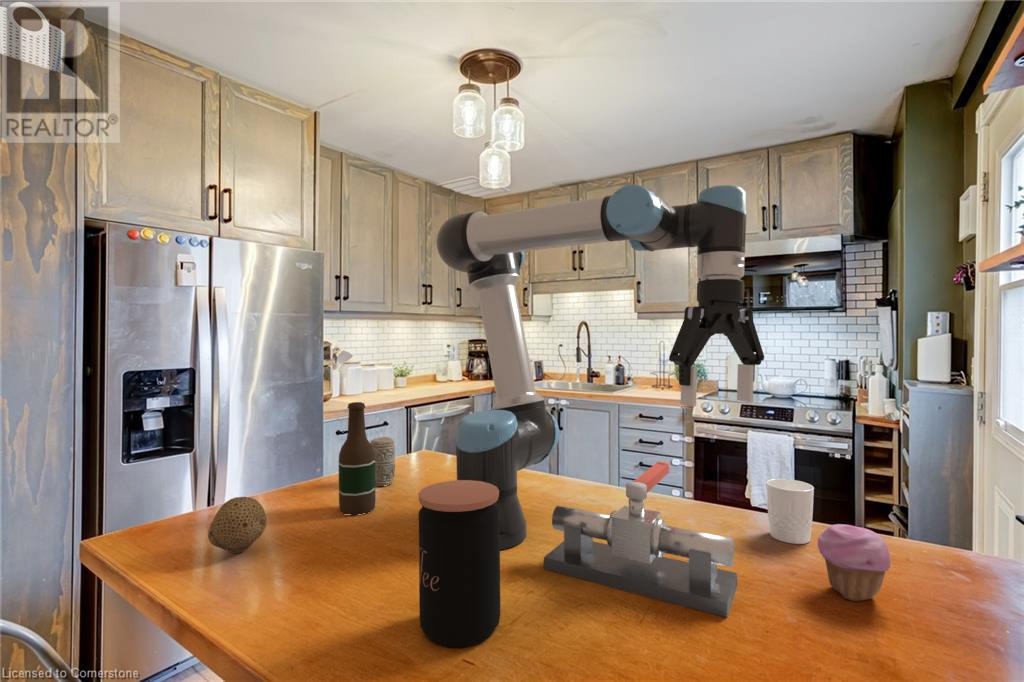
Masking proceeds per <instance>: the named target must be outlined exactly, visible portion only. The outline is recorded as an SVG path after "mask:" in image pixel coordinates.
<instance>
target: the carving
mask: <svg viewBox="0 0 1024 682" xmlns="http://www.w3.org/2000/svg"><path fill="white" fill-rule="evenodd" d="M370 444H371V445H372V447H373V450H374V454H375V487H378V486H384V485H388V484H390V485H392V484H393V481H394V477H395V470H396V462H395V460H396V456H395V455H396V445H395V441H394V439H393V437H387V436H382V437H380V436H379V437H377V438H373V439H372V440H370ZM388 486H389V485H388Z"/></svg>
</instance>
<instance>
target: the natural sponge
mask: <svg viewBox="0 0 1024 682" xmlns="http://www.w3.org/2000/svg"><path fill="white" fill-rule="evenodd" d="M267 520H268V519H267V515H266V510H265V509H264V507H263V506H262V503H260V502H259V501H258V500H256V499H255V498H253V497H249V496H236V497H233V498H230V499H229V500H227V501H226V502H224V504H222V505H221V507H220V508H219V509H218V510H217V512H216V514H215V515H214V518H213V520H212V521H211V524H210V525H209V528H208V531H207V538H208V542H209V543H210V544H211V545H212V546H214V547H216V548H219V549H222V550H224V551H226V552H228V553H232V554H241V553H243V552H245V551H247V550H248V549H249V548H250V547H251V546H252V545H253V544H254V543H255V542H256V541H257V540H258V539H259V538H260V537H261V536H262V535H263V533H264V531H265V529H266V527H267V523H268V522H267ZM240 552H241V553H240Z"/></svg>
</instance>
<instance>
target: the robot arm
mask: <svg viewBox="0 0 1024 682" xmlns="http://www.w3.org/2000/svg"><path fill="white" fill-rule="evenodd" d="M746 197H747V195H746V191H745V190H744V189H743V188H742V187H741V186H737V185H733V184H732V185H730V184H729V185H728V184H723V185H714V186H711V187H707V188H704V189H702V190H701V191H700V193H699V194H698V199H697V202H693V203H688V204H681V205H672V206H671V205H669V204H668V203H667V202H666V201H664V200H663V199H661V198H660V196H659V195H657V194H656V193H655V192H654V191H653V190H651V189H650V188H647V187H645V186H642V185H639V184H634V183H631V184H626V185H623V186H621V187H620V188H618V189H617V190H616V191H615V192H613V193H612V194H610V195H606V196H600V197H594V198H588V199H581V200H575V201H568V202H562V203H555V204H551V205H544V206H537V207H531V208H525V209H520V210H519V209H518V210H513V211H507V212H506V211H505V212H500V213H495V214H488V213H486V212H484V211H481V210H478V211H473V212H467V213H460V214H457V215H454V216H451V217H449V218H448V219H447V220H446V221H444V222H443V223H442V225H441V227H440V228H439V230H438V233H437V237H436V248H437V253H438V255H439V256H440V257H439V258H441V261H443V263H444V264H445V265H446V266H447V267H449V268H451V269H453V270H455V271H458V272H462V273H467V279H468V280H467V281H468V284H469V289H470V290H472V291H474V292H475V293H476V294H477V297H478V302H479V308H480V313H481V319H482V324H483V330H484V335H485V340H486V345H487V346H486V347H487V351H488V357H489V362H490V368H491V374H492V379H493V385H494V390H495V396H496V400H495V401H494V403H493V405H492V407H491V409H487V410H484V411H475V412H472V413H469V414H466V415H465V416H463V417H461V419H460V420H459V421H458V422H457V424H456V437H455V446H456V448H455V449H456V452H455V454H456V457H455V458H456V480H473V481H482V482H486V483H490V484H492V485H494V486H496V487H497V488H498V490H499V497H498V500H497V501H496V504H497V506H498V507H499V512H500V551H501V550H505V549H510V548H513V547H516V546H517V545H519V544H521V543H522V542H524V541H525V539H527V534H528V533H527V530H528V528H527V520H526V518H525V516H524V512H523V508H522V505H521V503H520V498H519V497H518V471H520V470H523V469H525V468H528V467H530V466H532V465H537V464H540V463H542V462H543V461H544V460H545V459H547V458H548V457H550V456H551V455H552V454H553V453H554V451H555V450H556V448H557V447H558V443H559V439H560V428H559V424H558V421H557V420H556V418H555V416H554V415H553V414H551V413H550V411H549V410H547V408H546V403H545V398H544V397H543V396H541V395H540V394H539V393H537V392H536V387H535V382H534V379H533V378H534V377H533V373H532V371H533V370H532V368H531V367H532V365H531V361H530V356H529V351H528V346H527V340H526V337H525V336H526V335H525V329H524V323H523V320H522V314H521V309H520V303H519V299H518V298H519V297H518V293H517V288H516V287H517V284H518V283H519V282H520V280H521V273H520V271H521V269H522V265H523V264H524V262H525V255H526V253H525V252H531V251H539V250H547V249H548V250H549V249H557V248H558V249H559V248H564V247H573V246H575V247H576V246H582V245H590V244H599V243H608V242H620V241H621V242H622V241H628V242H629V244H630V246H631V248H632V249H633V250H635V251H638V252H644V251H645V252H646V251H647V252H655V251H662V250H673V249H674V250H675V249H681V248H682V249H683V248H697V262H696V263H697V265H696V267H697V269H696V277H697V279H700V280H699V281H698V282H697V284H696V302H698V303H699V304H700V305H699V306H686V307H685V308H684V315H683V317H684V318H683V320H682V323H681V326H680V328H679V331H678V334H677V336H676V339H675V341H674V344H673V345H672V346H673V347H672V349H671V351H670V354H669V355H668V356H669V357H668V360H669V361H670V362H672V363H673V364H674V365H675V366H678V384H679V385H680V405H683V406H687V407H697V389H698V387H697V385H698V384H697V383H698V382H697V381H698V380H697V379H698V366H693V365H694V363H695V362H696V360H697V359H698V357H699V356H700V354H701V352H702V351H703V350H704V348H705V347H706V345H707V343H708V342H709V340H710V338H711V337H713V336H714V335H715V334H717V335H724V337H727V340H728V341H729V343H730V345H731V346H732V348H733V350H734V352H735V354H736V355H737V357H738V358H739V361H740V362H741V363H742V364H741V363H739V364H737V377H736V378H737V380H736V382H737V383H736V401H739V402H746V403H753V402H754V382H755V376H756V375H755V374H756V373H755V371H756V366H760V365H761V364H762V361H764V360H765V355H764V352H763V347H762V344H761V342H760V339H759V334H758V332H757V328H756V325H755V322H754V311H753V309H752V308H740V305H739V304H740V303H742V302H744V300H745V281H744V280H743V279H742V278H743V277H744V276H745V259H746V257H745V254H746V237H747V236H746V235H747V233H746V232H747V216H748V213H747V202H746Z"/></svg>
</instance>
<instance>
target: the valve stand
mask: <svg viewBox="0 0 1024 682" xmlns="http://www.w3.org/2000/svg"><path fill="white" fill-rule="evenodd" d="M661 514H662V513H661V511H656V510H652V509H646V508H645V499H640V500H637V499H630V498H628V505H624V506H622V507H621V508H620V509H619V510H612V511H611V512H610V514H606V513H602V512H601V513H600V512H597V511H596V512H595V511H591V510H586V509H579V508H574V507H569V506H564V505H559V504H558V505H556V506H555V508H554V509H553V512H552V516H551V525H552V529H553V530H556V531H560V532H563V541H562V542H561V543H560V544H558V545H557V546H556V547H555V548H553V549H552V550H551V551H549V552H548V553H547V554H546V555H545V556H544V557H543V570H545V569H546V571H549V572H553V571H554V572H553V573H556V572H557V574H560V575H564V576H568V577H573V578H576V579H580V580H582V581H583V580H584V581H588V582H591V583H595V584H599V585H602V586H605V587H610V588H612V589H617V590H621V591H625V592H629V593H633V594H636V595H641V596H643V597H648V598H652V599H655V600H658V601H663V602H667V603H670V604H674V605H678V606H682V607H684V608H685V607H686V608H689V609H692V610H696V611H701V612H704V613H708V614H711V615H716V616H720V617H723V618H728V616H729V613H730V610H731V607H732V604H733V600H734V597H735V594H736V592H737V587H738V573H737V572H736V571H735V572H734V571H730V570H725V569H720V568H717V567H718V566H724V567H728V568H733V565H734V559H735V540H734V537H731V536H725V535H719V534H714V533H709V532H704V531H698V530H693V529H687V528H682V527H676V526H671V525H667V521H666V520H665V519H662V518H661V516H662V515H661ZM593 539H598V540H603V541H606V542H607V543H602V542H598V541H593ZM664 554H668V555H672V556H676V557H682V558H687V559H688V561H684V560H679V559H674V558H671V557H666V556H664Z"/></svg>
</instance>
